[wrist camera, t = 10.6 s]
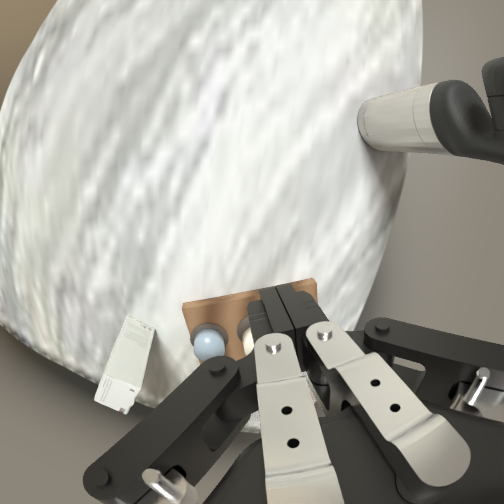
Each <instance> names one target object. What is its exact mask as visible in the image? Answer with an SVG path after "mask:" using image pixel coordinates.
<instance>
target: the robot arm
mask: <svg viewBox="0 0 504 504" xmlns="http://www.w3.org/2000/svg"><path fill="white" fill-rule="evenodd" d="M482 77H483V82H484V86H485V90H486V94H487V97H488V103H489V107H490V111H491V116H490V114H489V112H488V111H487V109H486V107H485V105H484V103H483V102H482V100H481V98H480V97H479V95H478V94H477V93H476V91H475V90H474V89H473V88H472V87H471V86H469V85H468V84H467V83H465V82H463V81H459V80H449V81H444V82H439V83H434V84H429V85H425V86H420V87H416V88H411V89H407V90H403V91H399V92H395V93H391V94H388V95H384V96H380V97H377V98H373V99H370V100H368V101H366V102H365V103H364V104H363V105H362V106H361V108H360V110H359V113H358V127H359V131H360V133H361V136H362V137H363V139H364V140H365V142H366V143H367V144H368V145H369V146H371V147H372V148H374V149H376V150H379V151H395V152H414V153H428V154H440V155H441V154H442V155H452V156H461V157H469V158H474V159H480V160H486V161H491V162H495V163H500V164H503V165H504V57H501V58H497V59H494V60H491V61H489V62H487V63H486V64H485V65H484V66H483V68H482ZM491 117H492V118H491ZM259 297H260V300H256V301H251V302H249V304H248V306H247V314H248V319H249V324H250V329H251V334H252V338H253V343H254V348H253V350H252V351H251V352H250V353H249V354H248V355H247V356H245V357H244V358H242V359H239V360H237V361H235V360H234V359H233V358H231V357H228V356H215V357H212V358H209V359H207V360H206V361H204V362H203V363H202V364H201V365H200V366H199V367H198V368H197V369H196V370H195V371H194V372H193V373H192V374H191V375H190V376H189V377H188V378H187V379H185V380H184V381H183V382H182V383H181V384H180V385H179V386H178V387H177V388H176V389H175V390H174V391H173V392H172V393H171V394H170V395H169V396H168V397H167V398H166V399H164V400H163V401H162V402H161V403H160V404H159V405H158V406H157V407H156V408H155V409H154V410H153V411H152V412H151V413H149V414H148V415H147V416H146V417H145V418H144V419H143V420H142V421H141V422H140V423H139V424H137V425H136V426H135V427H134V428H133V429H132V430H131V431H130V432H128V433H127V434H126V435H125V436H124V437H123V438H122V439H121V440H119V441H118V442H117V443H116V444H115V445H114V446H112V447H111V448H110V449H109V450H108V451H107V452H106V453H104V454H103V455H102V456H101V457H100V458H98V459H97V460H96V461H95V462H94V463H93V464H91V465H90V466H89V467H88V468H87V470H86V471H85V473H84V476H83V485H84V488H85V490H86V491H87V492H88V494H90V495H91V496H92V497H94V498H95V499H97V500H98V501H100V502H101V503H103V504H197V502H198V494H197V491H196V489H195V488H194V486H195V485H196V484H197V483H198V482H199V481H200V480H201V478H202V477H203V476H204V475H205V474H206V473H207V472H208V470H209V469H210V468H211V467H212V466H213V465H214V463H215V462H216V461H217V460H218V459H219V457H220V456H221V455H222V454H223V452H224V451H225V450H226V449H227V448H228V446H229V445H230V444H231V442H232V441H233V440H234V439H235V437H236V436H237V435H238V434H239V432H240V431H241V430H242V428H243V427H244V426H245V424H246V423H247V422H248V420H249V419H250V416H251V413H253V412H256V411H258V410H259V416H260V426H261V435H262V438H260V439H258V440H257V441H255V442H254V443H252V444H251V445H249V446H248V447H247V448H246V449H245V450H244V451H243V452H242V453H241V454H240V455H239V456H238V458H237V459H236V460H235V462H234V463H233V465H232V466H231V467H230V469H229V470H228V471H227V473H226V474H225V476H224V477H223V478H222V480H221V481H220V482H219V483H218V485H217V486H216V488H215V489H214V490H213V491H212V492H211V494H210V495H209V496H208V498H207V499H206V500H205V501H204V502H203V504H504V345H500V344H496V343H491V342H486V341H482V340H477V339H472V338H468V337H464V336H459V335H455V334H451V333H446V332H441V331H438V330H434V329H429V328H425V327H421V326H417V325H413V324H408V323H405V322H401V321H397V320H393V319H389V318H375V319H372V320H370V321H369V322H367V323H366V325H365V329H364V331H344V329H343V328H342V327H341V326H340V325H338V324H336V323H334V322H329V320H328V319H327V317H326V316H325V314H324V313H323V311H322V310H321V308H320V307H319V306H318V304H317V302H315V299H314V298H313V297H312V295H311V294H309V293H307V292H305V291H304V290H303V291H298V292H296V291H295V289H294V288H293V286H292V284H291V283H286V284H282V285H277V286H275V287H274V286H272V287H267V288H262V289H259ZM395 356H396V357H399V358H403V359H407V360H410V361H413V362H417V363H420V364H422V365H423V366H424V367H425V369H426V370H425V371H418V370H414V369H411V368H407V367H404V366H401V365H397V364H394V363H393V362H394V357H395ZM304 371H306V372H307V374H308V383H307V380H306V377H305V376H302V373H301V372H304ZM308 384H309V386H308ZM309 387H310V389H311V391H312V392H313V394H314V396H315V398H316V400H317V402H318V403H319V405H320V407H321V409H322V411H323V413H324V414H325V417H319V418H318V417H317V413H316V410H315V407H314V403H313V400H312V396H311V393H310V390H309Z"/></svg>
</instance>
